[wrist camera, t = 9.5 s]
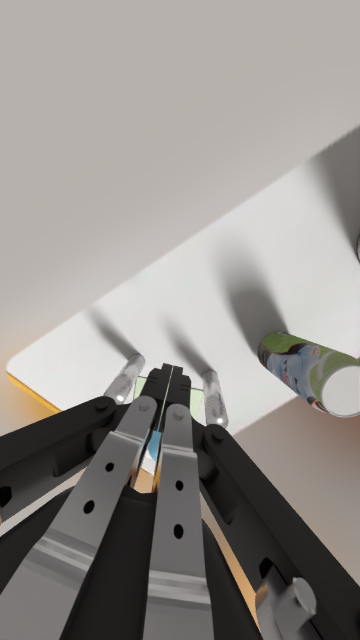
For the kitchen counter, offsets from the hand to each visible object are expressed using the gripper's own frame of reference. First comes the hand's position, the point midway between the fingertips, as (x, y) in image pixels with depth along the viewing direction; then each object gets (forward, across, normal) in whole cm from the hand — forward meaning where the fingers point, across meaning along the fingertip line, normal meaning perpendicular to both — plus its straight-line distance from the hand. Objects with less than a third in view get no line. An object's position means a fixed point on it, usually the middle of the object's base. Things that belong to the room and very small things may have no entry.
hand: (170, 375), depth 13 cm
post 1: (+14, +6, +9) cm, 18 cm away
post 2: (+14, -6, +9) cm, 18 cm away
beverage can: (+15, -15, +1) cm, 21 cm away
